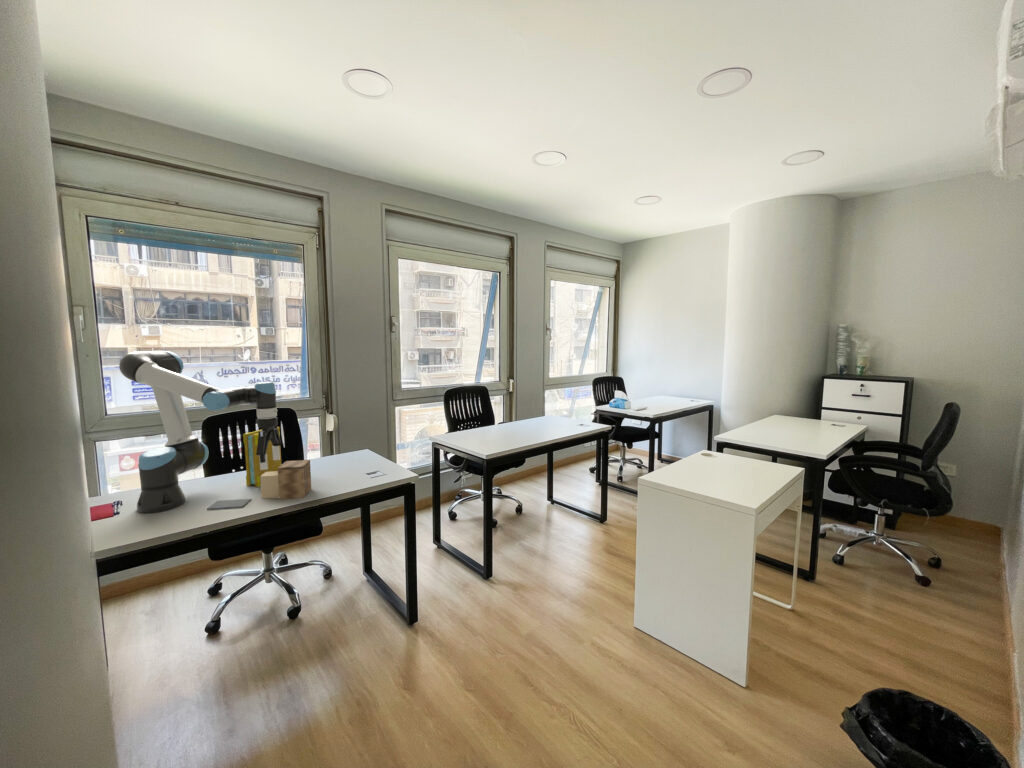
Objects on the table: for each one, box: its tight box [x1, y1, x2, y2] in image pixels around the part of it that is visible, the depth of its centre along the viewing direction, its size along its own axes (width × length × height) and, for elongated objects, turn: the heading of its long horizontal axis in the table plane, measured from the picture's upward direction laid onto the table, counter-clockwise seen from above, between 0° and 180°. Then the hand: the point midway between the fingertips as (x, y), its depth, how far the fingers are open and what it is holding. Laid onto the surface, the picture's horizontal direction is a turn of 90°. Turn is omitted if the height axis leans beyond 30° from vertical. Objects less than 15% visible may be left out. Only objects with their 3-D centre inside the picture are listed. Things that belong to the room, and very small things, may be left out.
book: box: [242, 426, 282, 488], centre depth 196 cm, size 17×7×25 cm, turn 168°
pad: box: [206, 498, 252, 511], centre depth 168 cm, size 13×8×1 cm, turn 101°
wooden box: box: [278, 459, 312, 500], centre depth 180 cm, size 10×10×14 cm
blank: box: [260, 471, 279, 499], centre depth 179 cm, size 12×6×10 cm, turn 101°
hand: (270, 464), depth 178 cm, fingers open, 13 cm apart
